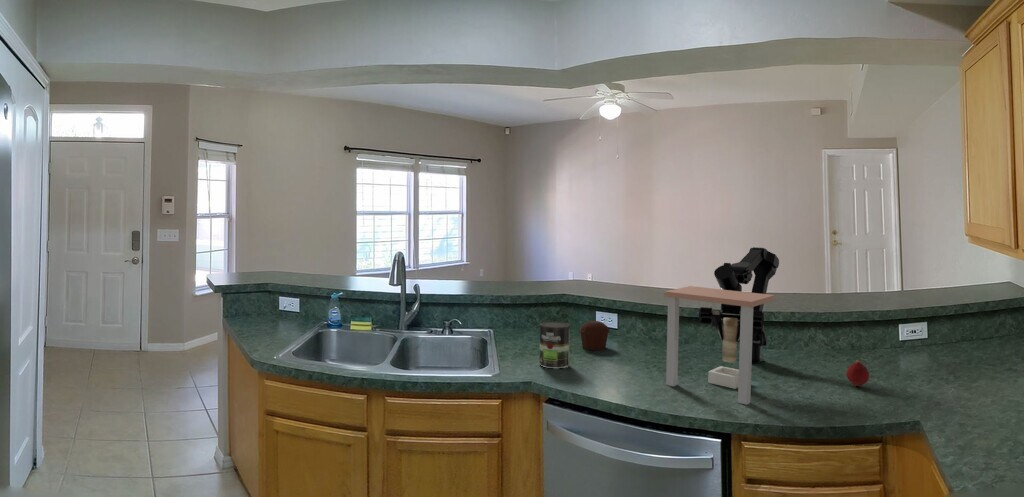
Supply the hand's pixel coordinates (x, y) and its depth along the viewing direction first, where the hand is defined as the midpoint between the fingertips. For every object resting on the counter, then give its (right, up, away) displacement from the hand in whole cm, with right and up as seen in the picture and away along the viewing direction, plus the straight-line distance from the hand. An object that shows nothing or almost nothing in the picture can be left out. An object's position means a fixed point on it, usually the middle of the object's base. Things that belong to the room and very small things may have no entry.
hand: (729, 340), depth 171 cm
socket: (0, -13, +2) cm, 14 cm away
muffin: (-34, -10, +45) cm, 58 cm away
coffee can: (-51, -12, +22) cm, 57 cm away
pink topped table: (-5, -14, -3) cm, 15 cm away
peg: (+1, -6, +2) cm, 7 cm away
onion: (+38, -14, -1) cm, 40 cm away
